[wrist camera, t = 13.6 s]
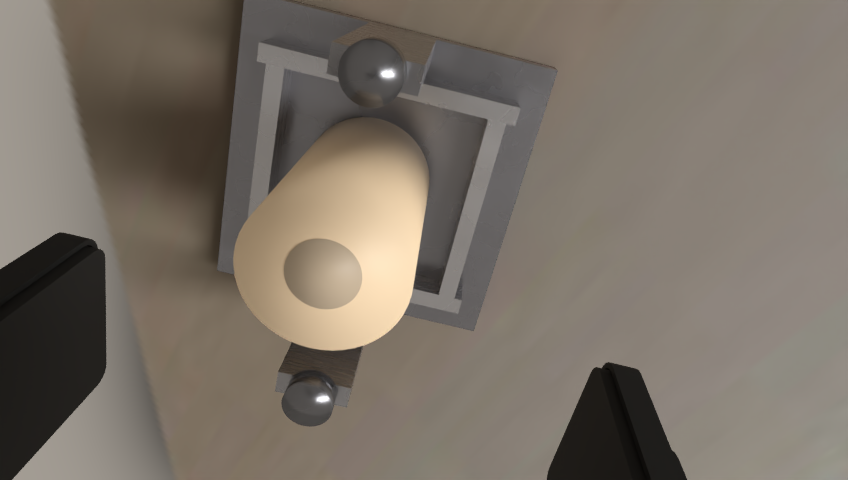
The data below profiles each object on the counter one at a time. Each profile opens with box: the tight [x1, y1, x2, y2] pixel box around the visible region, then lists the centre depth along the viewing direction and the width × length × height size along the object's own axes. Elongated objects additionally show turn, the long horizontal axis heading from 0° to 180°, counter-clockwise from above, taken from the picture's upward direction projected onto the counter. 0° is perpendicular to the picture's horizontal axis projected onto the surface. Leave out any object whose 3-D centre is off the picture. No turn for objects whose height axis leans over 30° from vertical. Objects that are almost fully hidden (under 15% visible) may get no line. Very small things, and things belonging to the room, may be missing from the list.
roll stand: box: [217, 0, 558, 426], centre depth 25 cm, size 14×15×10 cm
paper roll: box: [233, 117, 430, 351], centre depth 24 cm, size 6×6×10 cm
